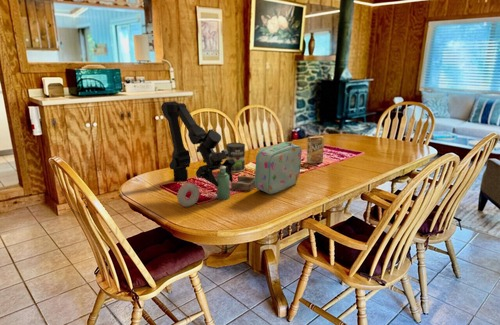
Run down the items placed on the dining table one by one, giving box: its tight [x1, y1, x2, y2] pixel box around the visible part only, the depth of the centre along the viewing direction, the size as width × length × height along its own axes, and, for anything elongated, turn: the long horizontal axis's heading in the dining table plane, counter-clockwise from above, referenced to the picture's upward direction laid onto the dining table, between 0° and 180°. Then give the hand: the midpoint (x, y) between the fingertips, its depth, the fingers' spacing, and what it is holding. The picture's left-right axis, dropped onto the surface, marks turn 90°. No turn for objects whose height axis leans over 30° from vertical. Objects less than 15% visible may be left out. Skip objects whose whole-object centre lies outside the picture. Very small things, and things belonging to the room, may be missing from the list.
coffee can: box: [225, 142, 246, 173], centre depth 193 cm, size 10×10×14 cm
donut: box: [176, 182, 200, 208], centre depth 144 cm, size 10×4×10 cm, turn 131°
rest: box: [230, 175, 255, 192], centre depth 168 cm, size 10×11×3 cm
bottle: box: [215, 166, 231, 201], centre depth 153 cm, size 6×6×14 cm
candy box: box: [306, 135, 325, 164], centre depth 206 cm, size 9×4×15 cm, turn 107°
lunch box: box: [254, 141, 302, 195], centre depth 164 cm, size 27×10×21 cm, turn 141°
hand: (225, 184), depth 152 cm, fingers open, 8 cm apart
